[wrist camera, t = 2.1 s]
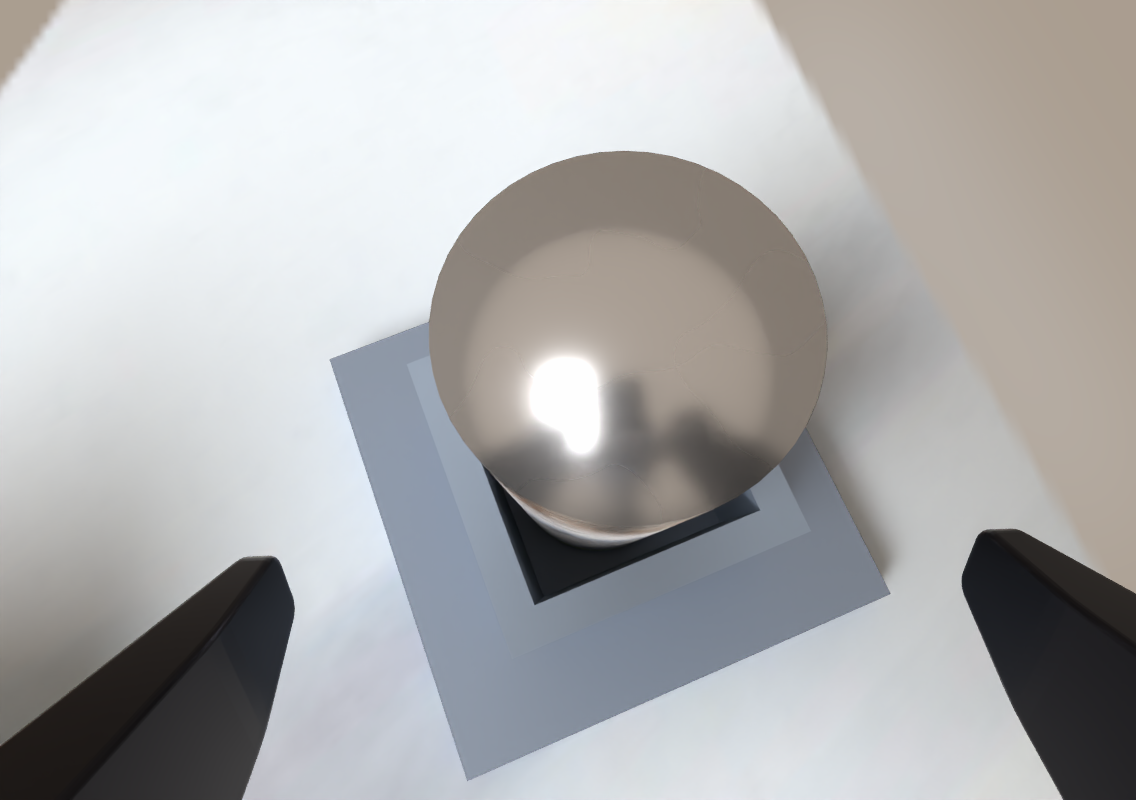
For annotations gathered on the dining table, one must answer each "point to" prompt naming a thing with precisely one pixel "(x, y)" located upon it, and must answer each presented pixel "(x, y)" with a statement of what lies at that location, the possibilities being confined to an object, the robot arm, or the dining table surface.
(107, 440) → the dining table surface
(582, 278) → the cylinder
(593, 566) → the jack base
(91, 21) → the dining table surface
